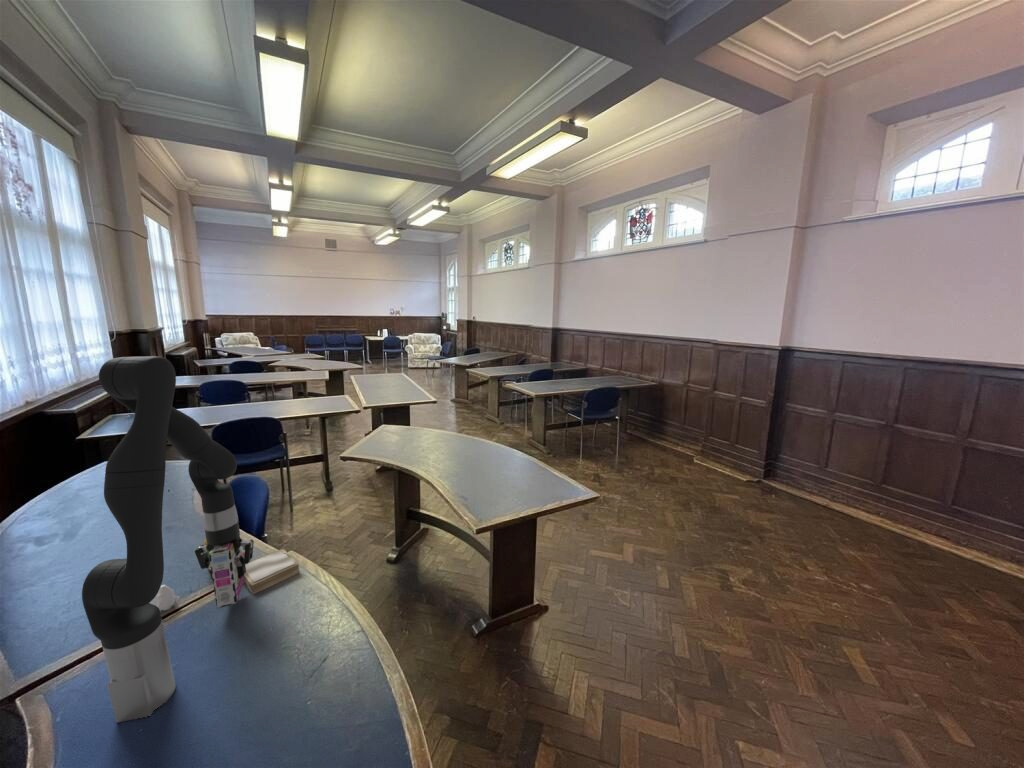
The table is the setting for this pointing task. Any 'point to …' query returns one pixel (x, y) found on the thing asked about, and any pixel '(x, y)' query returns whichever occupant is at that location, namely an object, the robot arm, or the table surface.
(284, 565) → the tray
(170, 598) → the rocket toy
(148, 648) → the robot arm
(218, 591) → the candy bar box
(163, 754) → the table surface
